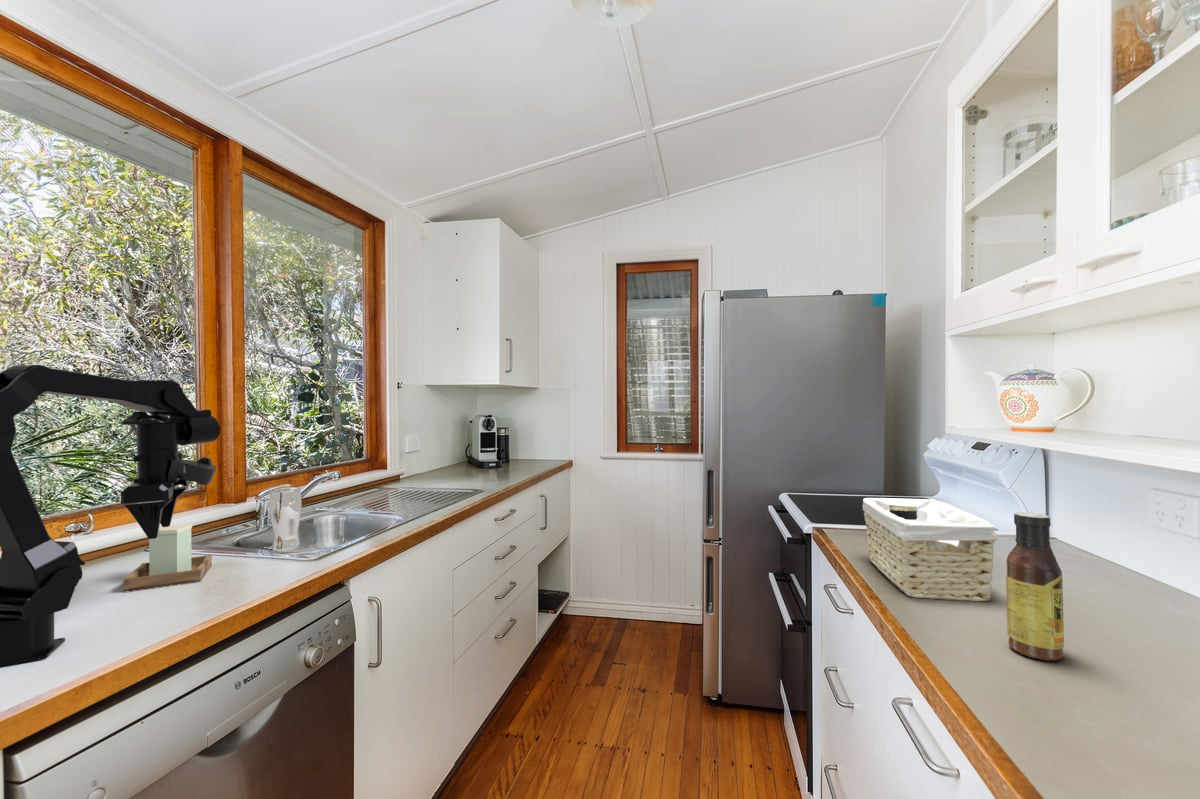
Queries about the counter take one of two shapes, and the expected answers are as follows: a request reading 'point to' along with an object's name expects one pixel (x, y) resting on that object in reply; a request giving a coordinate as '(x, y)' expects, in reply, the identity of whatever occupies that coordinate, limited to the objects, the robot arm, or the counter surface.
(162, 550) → the tea tin
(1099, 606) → the counter surface
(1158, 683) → the counter surface
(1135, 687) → the counter surface
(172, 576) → the tray
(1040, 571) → the sauce bottle
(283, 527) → the beer glass
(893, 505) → the storage basket
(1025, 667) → the counter surface
